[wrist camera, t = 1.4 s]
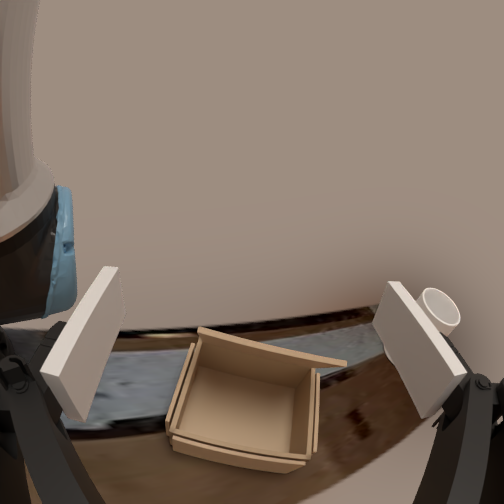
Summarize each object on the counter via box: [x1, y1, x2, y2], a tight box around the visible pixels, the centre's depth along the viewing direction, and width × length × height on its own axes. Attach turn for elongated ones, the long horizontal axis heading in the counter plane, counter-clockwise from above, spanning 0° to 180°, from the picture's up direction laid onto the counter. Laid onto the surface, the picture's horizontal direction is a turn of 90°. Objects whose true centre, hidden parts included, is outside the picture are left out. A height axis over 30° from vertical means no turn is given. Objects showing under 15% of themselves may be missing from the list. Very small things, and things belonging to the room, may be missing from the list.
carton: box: [165, 337, 320, 474], centre depth 29 cm, size 15×13×6 cm
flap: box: [197, 326, 347, 368], centre depth 28 cm, size 13×1×10 cm, turn 81°
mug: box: [384, 288, 460, 364], centre depth 42 cm, size 12×8×12 cm
